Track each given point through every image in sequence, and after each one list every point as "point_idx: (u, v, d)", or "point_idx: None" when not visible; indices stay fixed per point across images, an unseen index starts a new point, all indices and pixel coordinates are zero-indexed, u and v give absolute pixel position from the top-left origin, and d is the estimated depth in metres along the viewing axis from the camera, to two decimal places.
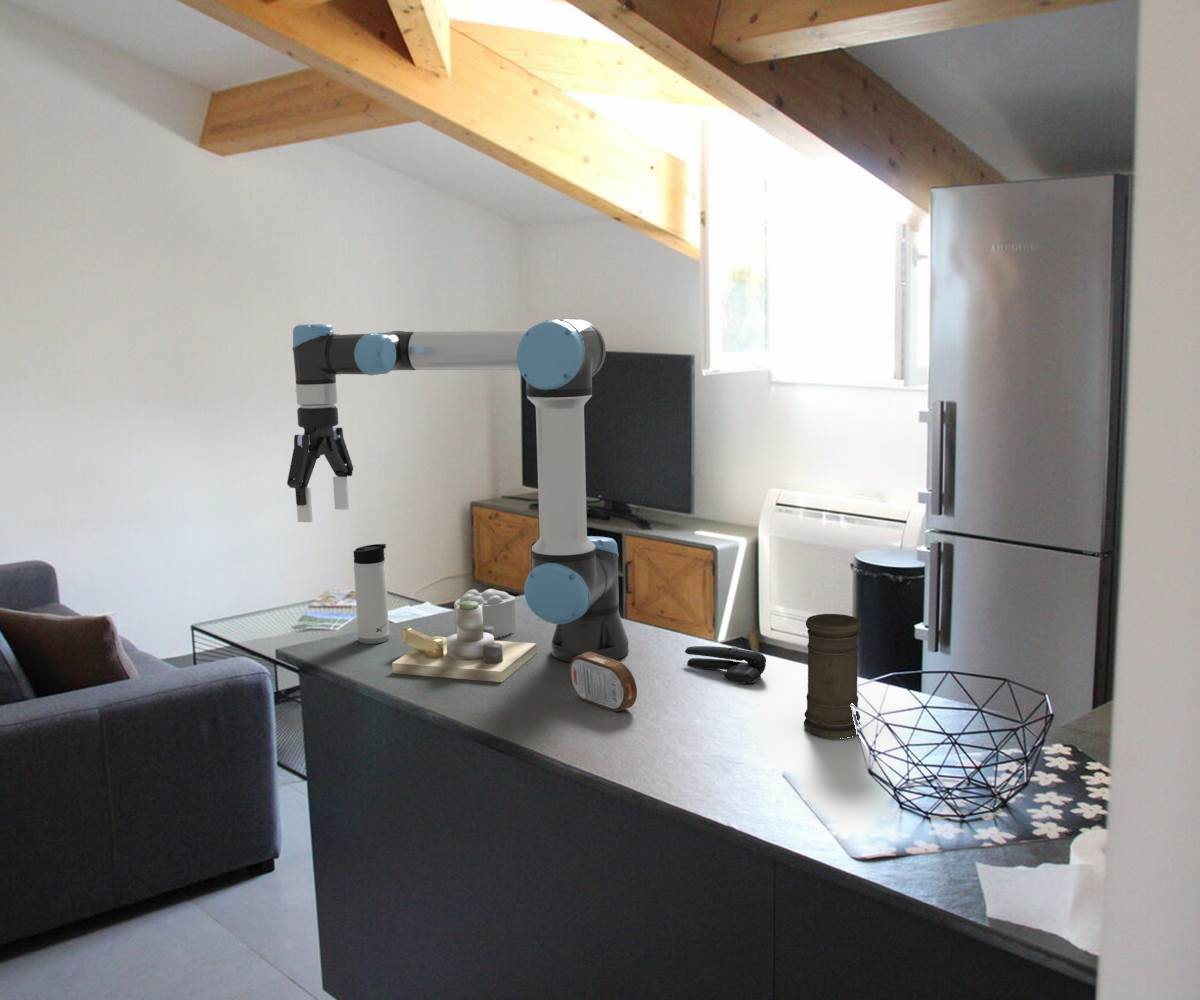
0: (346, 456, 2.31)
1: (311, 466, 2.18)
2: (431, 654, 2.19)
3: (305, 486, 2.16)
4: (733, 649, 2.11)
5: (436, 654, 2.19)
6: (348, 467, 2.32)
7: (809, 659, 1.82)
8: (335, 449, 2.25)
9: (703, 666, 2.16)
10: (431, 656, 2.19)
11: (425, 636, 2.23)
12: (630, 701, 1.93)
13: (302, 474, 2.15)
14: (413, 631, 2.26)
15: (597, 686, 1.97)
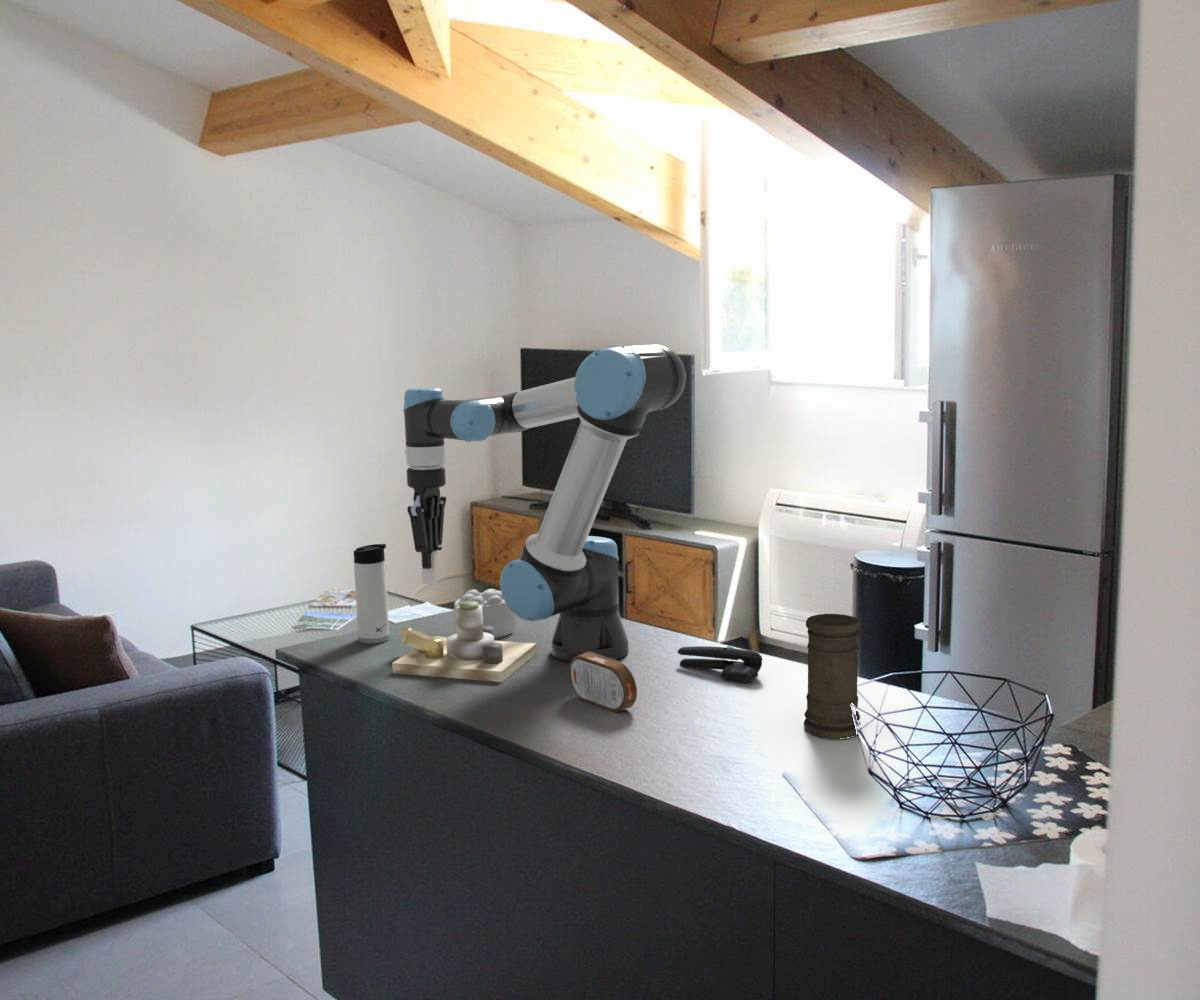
0: (441, 526, 2.34)
1: (430, 530, 2.29)
2: (431, 654, 2.19)
3: (431, 551, 2.30)
4: (728, 649, 2.11)
5: (436, 654, 2.19)
6: (437, 541, 2.33)
7: (809, 659, 1.82)
8: (437, 512, 2.31)
9: (697, 666, 2.16)
10: (431, 656, 2.19)
11: (425, 636, 2.23)
12: (630, 701, 1.93)
13: (426, 540, 2.27)
14: (413, 631, 2.26)
15: (597, 686, 1.97)
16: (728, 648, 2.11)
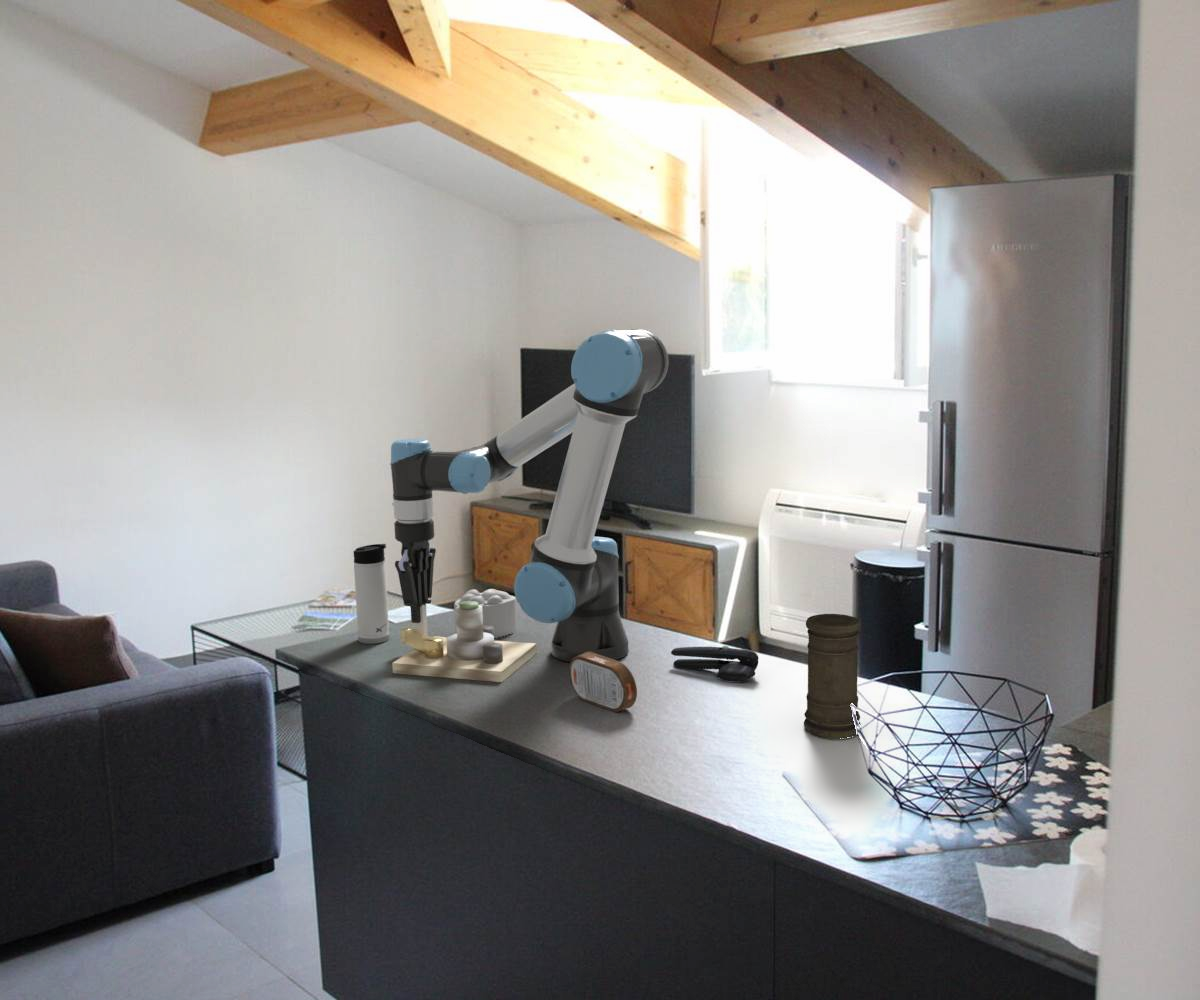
0: (430, 579, 2.29)
1: (419, 584, 2.25)
2: (431, 654, 2.19)
3: (421, 605, 2.26)
4: (724, 648, 2.11)
5: (436, 654, 2.19)
6: None
7: (809, 659, 1.82)
8: (426, 565, 2.26)
9: (691, 667, 2.16)
10: (431, 656, 2.19)
11: (425, 636, 2.23)
12: (630, 701, 1.93)
13: (415, 594, 2.23)
14: (412, 631, 2.26)
15: (597, 686, 1.97)
16: (724, 648, 2.12)
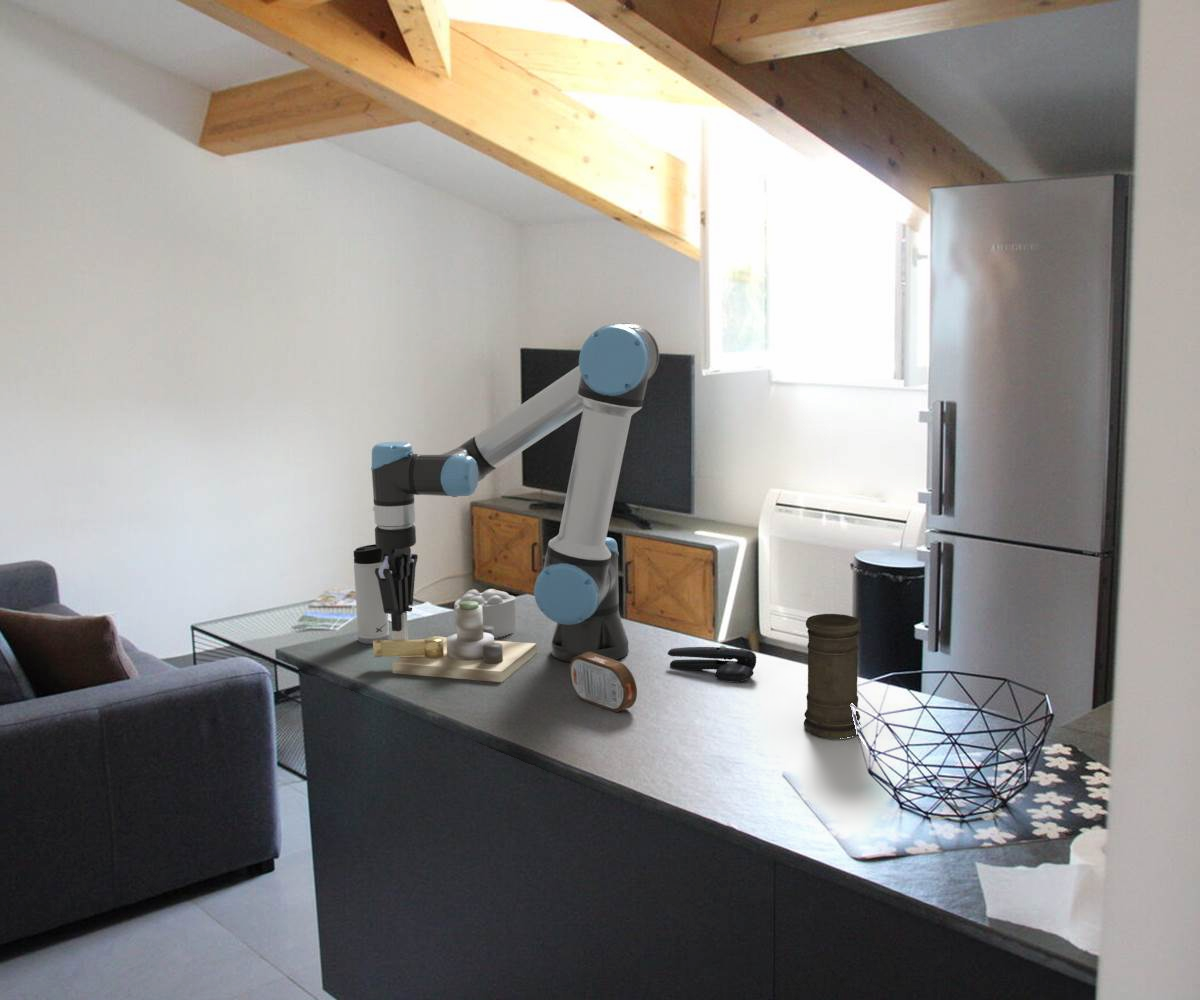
0: (411, 585, 2.23)
1: (400, 591, 2.18)
2: (439, 653, 2.19)
3: (401, 613, 2.19)
4: (722, 648, 2.12)
5: (442, 652, 2.20)
6: None
7: (809, 659, 1.82)
8: (407, 571, 2.20)
9: (689, 667, 2.15)
10: (439, 655, 2.19)
11: (416, 640, 2.20)
12: (630, 701, 1.93)
13: (395, 602, 2.17)
14: (391, 641, 2.20)
15: (597, 686, 1.97)
16: (721, 648, 2.12)
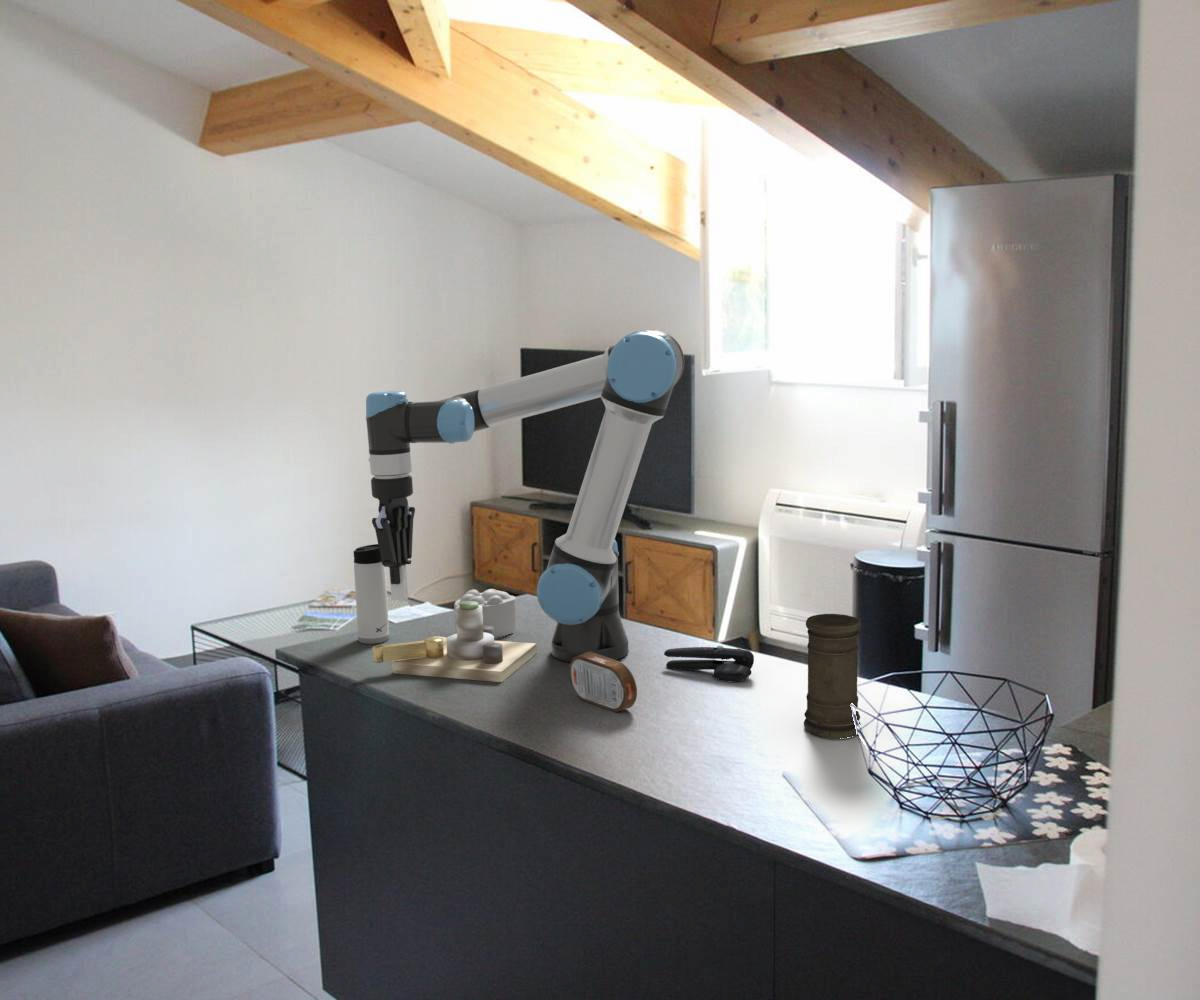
0: (409, 538, 2.20)
1: (398, 543, 2.15)
2: (442, 652, 2.20)
3: (400, 565, 2.16)
4: (719, 648, 2.12)
5: (443, 651, 2.21)
6: (407, 554, 2.19)
7: (809, 659, 1.82)
8: (405, 523, 2.17)
9: (685, 668, 2.15)
10: (442, 654, 2.20)
11: (416, 642, 2.19)
12: (630, 701, 1.93)
13: (394, 553, 2.14)
14: (391, 645, 2.18)
15: (597, 686, 1.97)
16: (719, 648, 2.12)
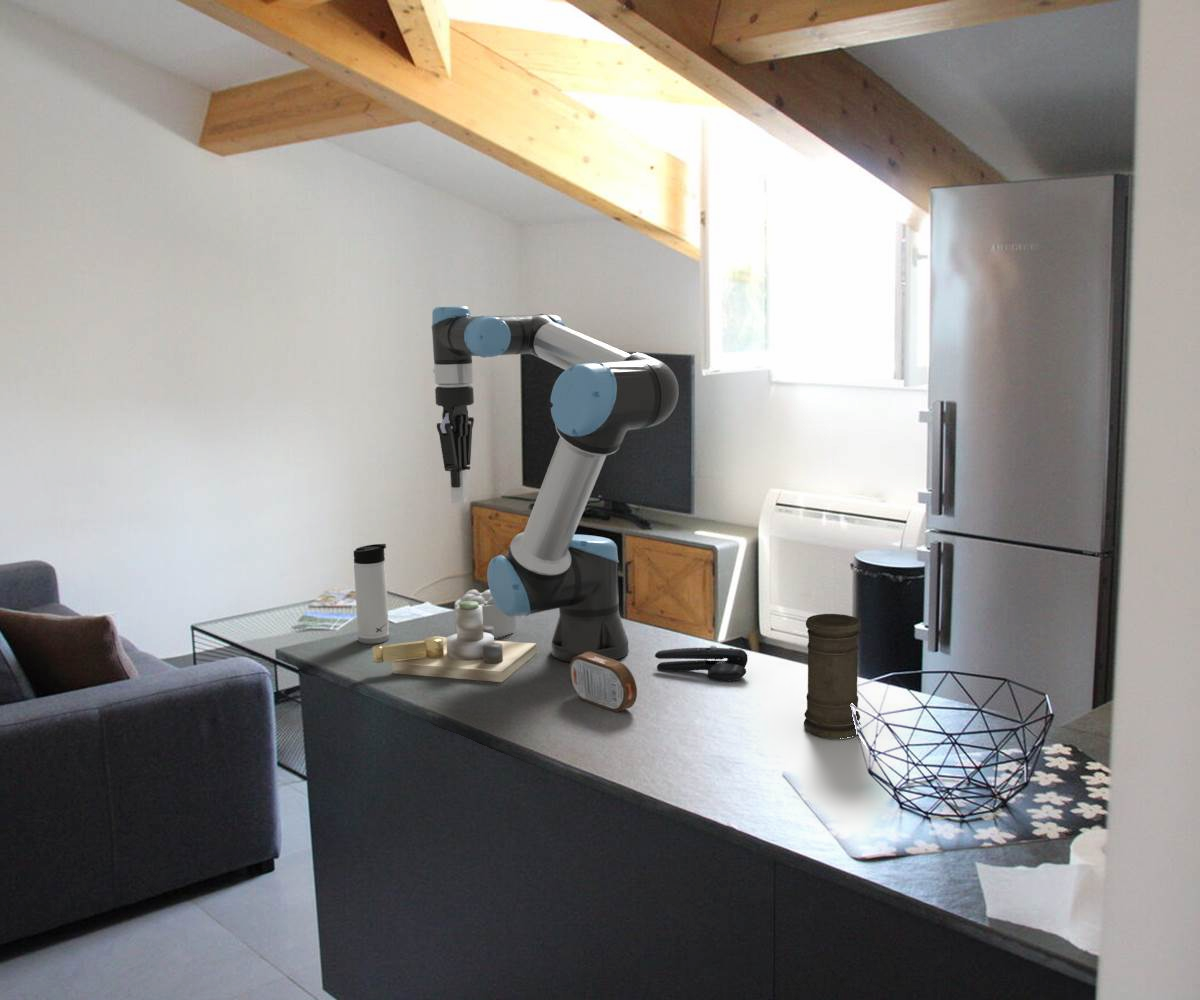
0: (469, 446, 2.35)
1: (459, 448, 2.31)
2: (442, 652, 2.20)
3: (460, 469, 2.32)
4: (713, 648, 2.12)
5: (443, 651, 2.21)
6: None
7: (809, 659, 1.82)
8: (465, 431, 2.32)
9: (678, 669, 2.14)
10: (442, 654, 2.20)
11: (416, 642, 2.19)
12: (630, 701, 1.93)
13: (455, 458, 2.29)
14: (391, 645, 2.18)
15: (597, 686, 1.97)
16: (712, 648, 2.12)
